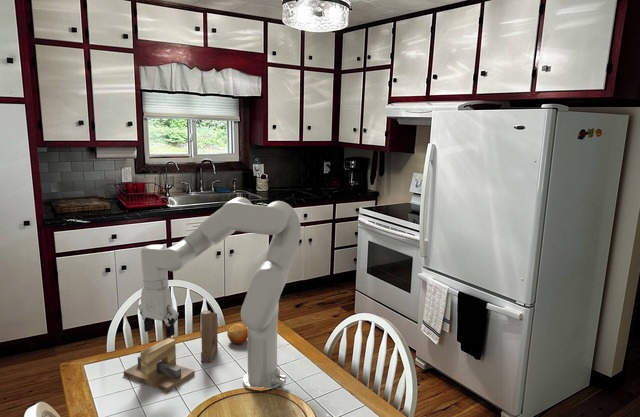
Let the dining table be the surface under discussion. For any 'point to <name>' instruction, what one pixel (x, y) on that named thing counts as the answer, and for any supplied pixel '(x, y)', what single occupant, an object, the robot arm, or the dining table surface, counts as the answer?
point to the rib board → (161, 375)
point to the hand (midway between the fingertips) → (159, 333)
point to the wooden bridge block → (157, 357)
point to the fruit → (238, 333)
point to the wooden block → (208, 335)
